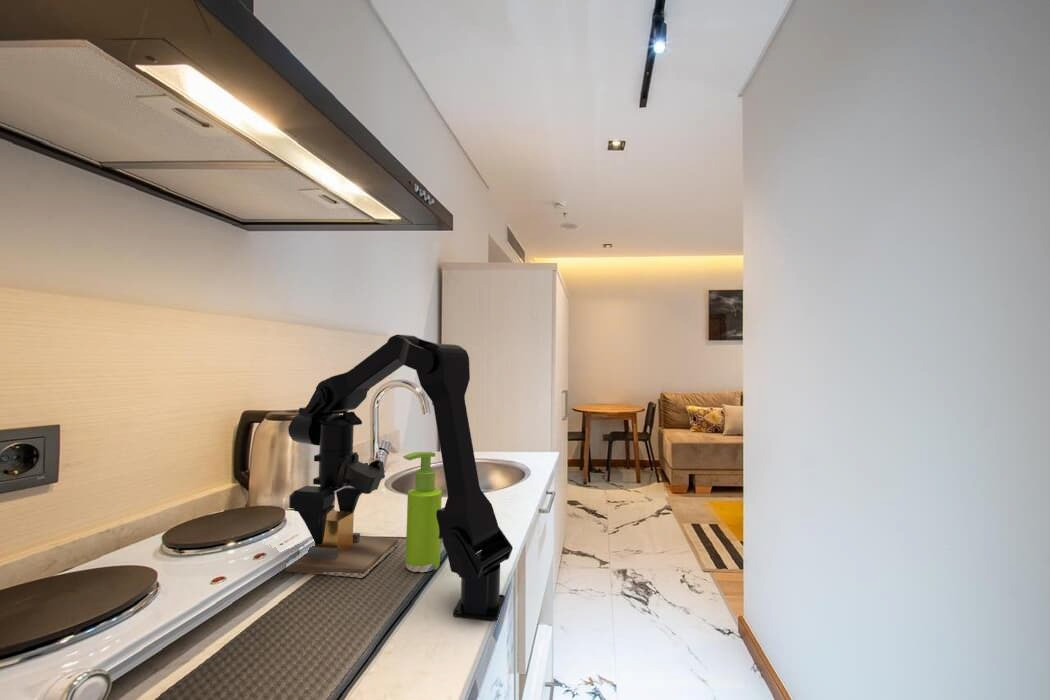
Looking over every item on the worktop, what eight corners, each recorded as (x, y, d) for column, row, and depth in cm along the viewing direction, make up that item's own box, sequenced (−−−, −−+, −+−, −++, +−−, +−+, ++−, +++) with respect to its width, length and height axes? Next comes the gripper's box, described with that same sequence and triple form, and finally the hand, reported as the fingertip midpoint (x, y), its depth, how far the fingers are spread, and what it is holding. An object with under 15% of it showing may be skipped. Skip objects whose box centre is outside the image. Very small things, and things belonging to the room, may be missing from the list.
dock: (363, 579, 79) (363, 560, 79) (285, 571, 81) (286, 553, 81) (397, 546, 93) (398, 531, 93) (330, 540, 95) (331, 525, 95)
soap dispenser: (394, 566, 84) (397, 451, 85) (429, 556, 89) (432, 447, 89) (409, 578, 80) (413, 457, 80) (445, 567, 84) (449, 453, 85)
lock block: (337, 555, 84) (338, 521, 85) (311, 552, 85) (312, 518, 86) (352, 544, 89) (353, 512, 89) (328, 542, 90) (329, 510, 90)
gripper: (351, 461, 77) (348, 559, 77) (399, 442, 96) (396, 520, 95) (288, 457, 79) (285, 553, 79) (347, 439, 97) (344, 516, 97)
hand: (333, 534), depth 87 cm, fingers open, 9 cm apart
